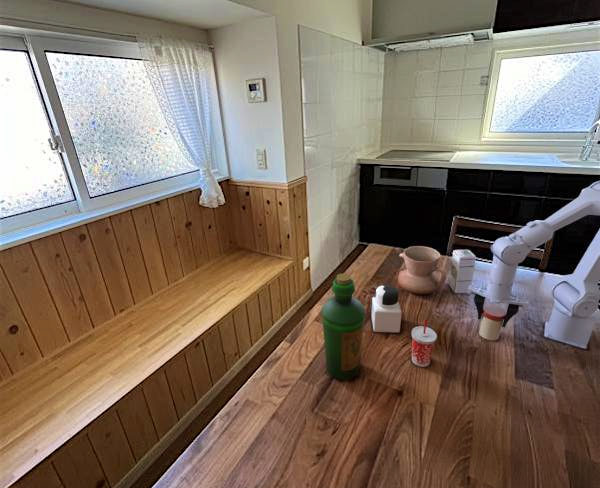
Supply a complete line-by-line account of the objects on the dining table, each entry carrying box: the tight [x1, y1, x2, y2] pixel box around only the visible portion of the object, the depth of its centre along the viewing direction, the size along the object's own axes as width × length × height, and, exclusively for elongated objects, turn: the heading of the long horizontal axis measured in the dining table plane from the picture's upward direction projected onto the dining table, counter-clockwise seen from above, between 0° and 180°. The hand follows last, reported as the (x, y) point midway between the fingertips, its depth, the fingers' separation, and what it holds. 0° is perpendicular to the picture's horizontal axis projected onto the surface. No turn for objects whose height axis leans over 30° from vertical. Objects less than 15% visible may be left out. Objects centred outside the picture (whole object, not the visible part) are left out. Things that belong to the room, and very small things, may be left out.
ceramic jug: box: [397, 245, 447, 295], centre depth 119 cm, size 18×14×14 cm
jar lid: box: [482, 304, 507, 321], centre depth 95 cm, size 6×6×2 cm
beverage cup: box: [411, 316, 438, 368], centre depth 87 cm, size 6×6×14 cm
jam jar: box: [478, 314, 504, 341], centre depth 97 cm, size 5×5×8 cm
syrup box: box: [448, 249, 477, 294], centre depth 118 cm, size 6×6×14 cm
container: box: [371, 284, 403, 334], centre depth 102 cm, size 8×8×13 cm
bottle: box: [321, 273, 366, 381], centre depth 83 cm, size 11×11×28 cm
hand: (491, 321), depth 96 cm, fingers closed on jar lid, 5 cm apart
